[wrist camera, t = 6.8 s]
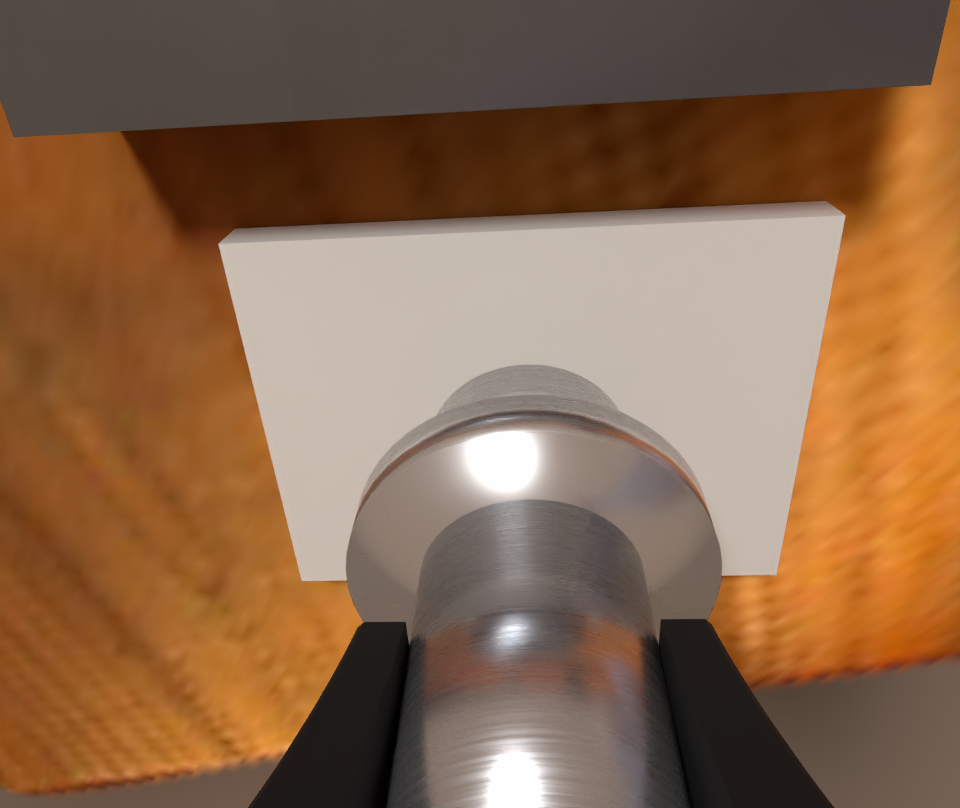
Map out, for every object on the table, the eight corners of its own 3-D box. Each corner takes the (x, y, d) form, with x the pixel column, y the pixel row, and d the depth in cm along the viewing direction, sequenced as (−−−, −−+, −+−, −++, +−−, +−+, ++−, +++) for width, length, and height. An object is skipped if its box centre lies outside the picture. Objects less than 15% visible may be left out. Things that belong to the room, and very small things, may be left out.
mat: (826, 200, 15) (845, 215, 14) (764, 547, 19) (776, 575, 18) (235, 228, 15) (218, 243, 15) (311, 554, 20) (302, 581, 19)
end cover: (692, 308, 13) (908, 788, 6) (668, 554, 16) (788, 1054, 9) (357, 324, 13) (177, 786, 6) (400, 559, 17) (314, 1041, 10)
